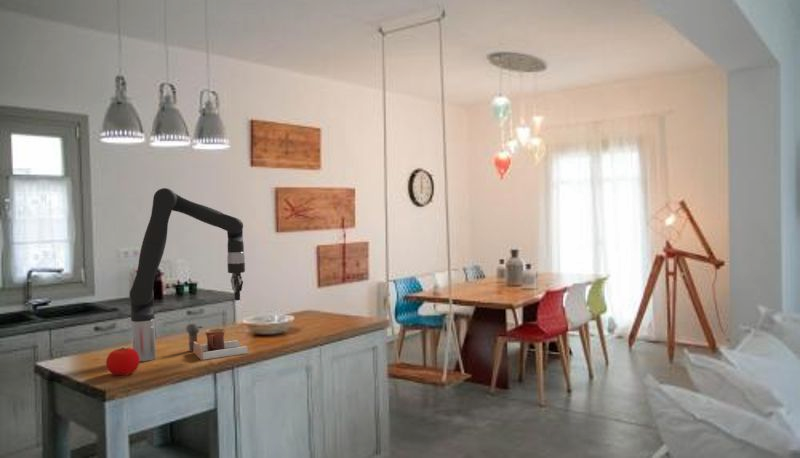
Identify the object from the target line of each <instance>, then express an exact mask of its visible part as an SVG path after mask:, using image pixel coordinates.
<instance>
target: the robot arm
mask: <svg viewBox="0 0 800 458" xmlns="http://www.w3.org/2000/svg"><path fill="white" fill-rule="evenodd" d="M172 211H173V212H177V213H180V214H184V215H187V216H189V217H191V218H194V219H196V220H198V221H200V222H202V223H205V224H206V225H207V224H208V225H210V226H213V227H216V228H220V229H221V230H223V231H226V233H227V257H226V259H227V260H226V262H227V273H228V274H232V275H231V278H230V283H231V284H230V285H231V288H232V290H233V293H234V294H233V296H234V297H233V298H234V301H240V300H241V291H242V289H243V284H244V281H243V276H242V275H241V274H242V273H244V272H245V271H246V263H245V253H244V251H245V247H244V246H245V245H244V240H243V238H244V237H243V235H244V234H243V233H244V231H243V229H244V223H243V221H242V220H241V219H239V218H237V217H234V216H231V215H228V214H225V213H223V212H221V211H219V210H217V209H215V208H212V207H209V206H207V205H203V204H200V203H197V202H194V201H191V200H189V199H186V198H184V197H182V196H180V195H179V194H177V193H175V192H174V191H173V190H172V189H170V188H168V187H167V188H165V187H162V188H159V189H157V191H156V192H155V193H154V195H153V200H152V208H151V214H150V218H149V221H148V225H147V226H146V229H145V233H144V235H143V239H142V243H141V246H140V247H141V248H140V252H139V257H138V265H137V271H136V275H135V278H134V281H133V284H132V287H131V289H130V290H129V299H130V309H131V310H130V311H131V312H130V320H131V321H130V322H131V323H130V324H131V339H130V340H131V349H134V350H136V351H137V353H138V355H139V359H140V362H149V361H152V360H154V359H156V358H157V351H156V326H155V325H156V323H155V295H154V294H155V292H154V284H155V278H156V274H157V271H158V269H159V267H160V264H161V261H162V258H163V256H164V251H165V248H166V245H167V239H168V237H167V236H168V230H169V229H168V226H169V225H168V224H169V219H170V217H171V214H172ZM148 360H149V361H148Z"/></svg>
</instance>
